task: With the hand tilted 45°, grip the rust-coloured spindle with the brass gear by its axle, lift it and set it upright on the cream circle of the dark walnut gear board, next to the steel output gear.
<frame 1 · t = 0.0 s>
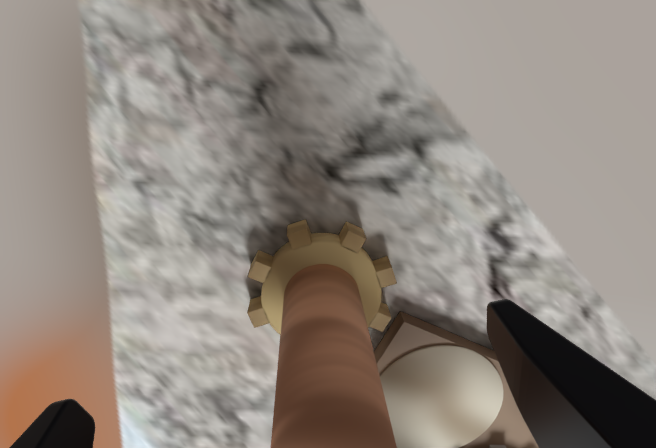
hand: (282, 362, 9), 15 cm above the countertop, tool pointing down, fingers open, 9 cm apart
gear board: (450, 434, 31), on the countertop
gear spindle: (320, 285, 26), on the countertop
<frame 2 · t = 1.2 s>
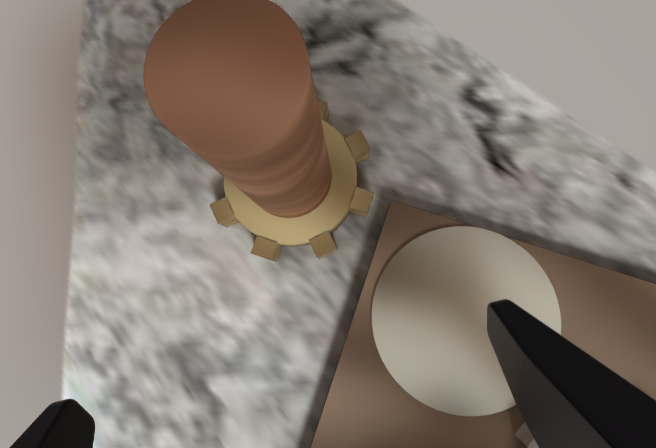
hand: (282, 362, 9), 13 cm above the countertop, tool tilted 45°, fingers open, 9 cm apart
gear board: (511, 398, 21), on the countertop
gear spindle: (293, 183, 23), on the countertop
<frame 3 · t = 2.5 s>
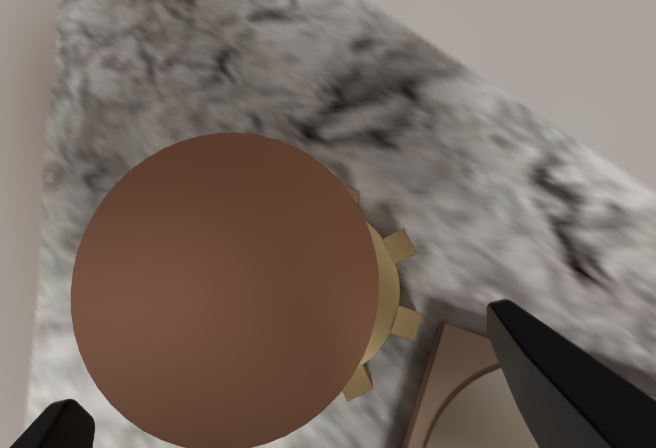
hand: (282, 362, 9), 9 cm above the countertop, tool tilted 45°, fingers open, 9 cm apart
gear spindle: (314, 289, 18), on the countertop
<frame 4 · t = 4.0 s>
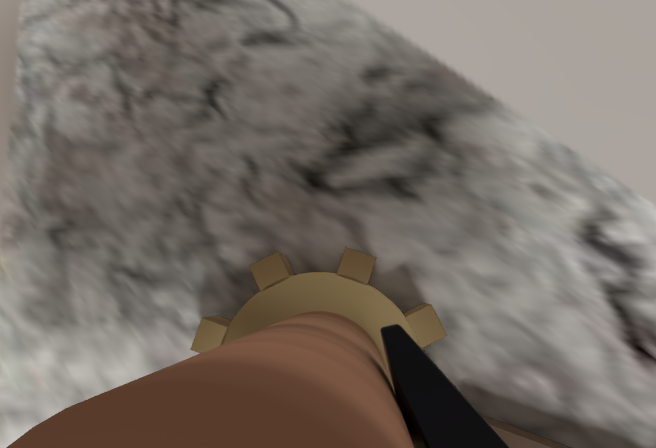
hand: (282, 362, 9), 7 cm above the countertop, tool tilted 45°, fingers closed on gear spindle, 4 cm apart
gear spindle: (322, 371, 15), on the countertop, touching gripper
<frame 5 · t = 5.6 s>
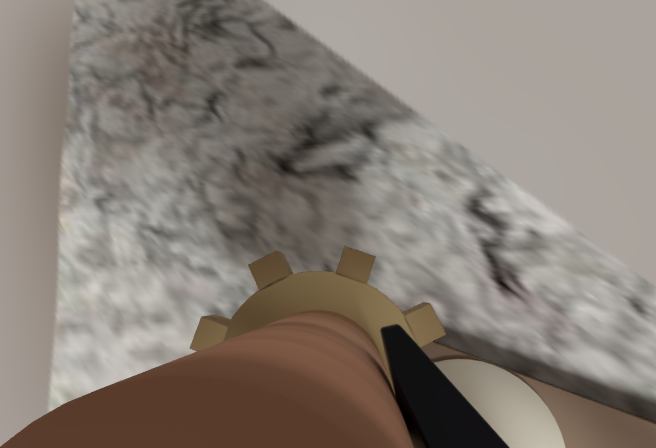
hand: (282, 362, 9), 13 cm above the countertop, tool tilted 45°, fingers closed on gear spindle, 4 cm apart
gear spindle: (321, 370, 15), point 7 cm above the countertop, touching gripper
when the fingers open (9 cm above the countertop, at t = 7.5 s): gear spindle drops 1 cm, resting on gear board.
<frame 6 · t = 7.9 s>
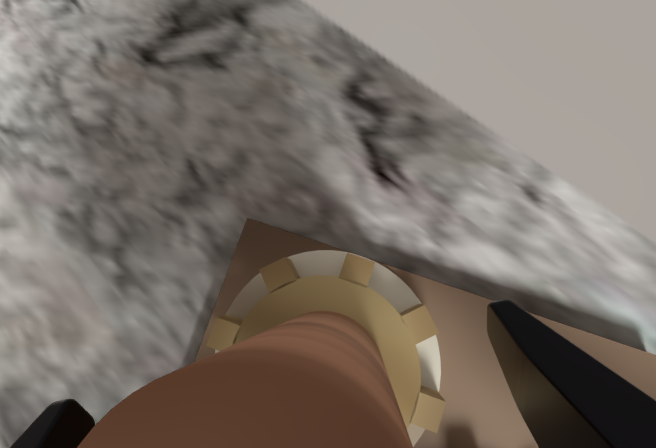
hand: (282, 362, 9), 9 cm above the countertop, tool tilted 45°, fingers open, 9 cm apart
gear spindle: (325, 365, 17), point 1 cm above the countertop, touching gear board
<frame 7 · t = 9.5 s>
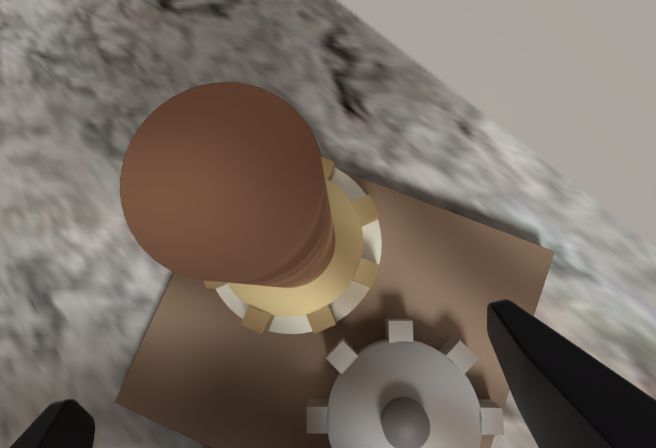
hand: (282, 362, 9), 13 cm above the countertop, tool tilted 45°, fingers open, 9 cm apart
gear board: (336, 324, 22), on the countertop
gear spindle: (292, 244, 21), point 1 cm above the countertop, touching gear board
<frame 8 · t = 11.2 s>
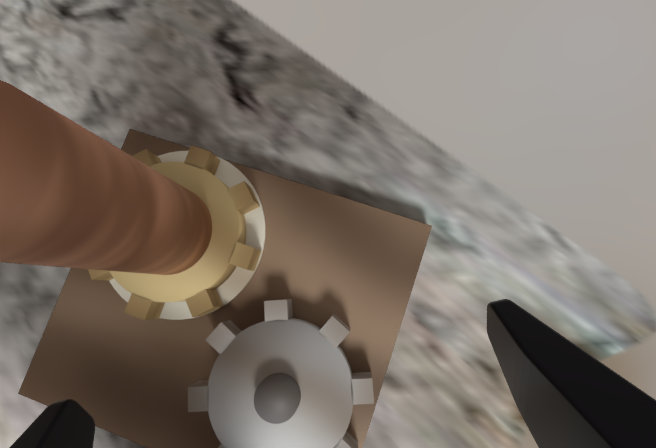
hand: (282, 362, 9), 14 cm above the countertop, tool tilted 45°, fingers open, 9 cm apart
gear board: (231, 309, 23), on the countertop
gear spindle: (181, 234, 22), point 1 cm above the countertop, touching gear board
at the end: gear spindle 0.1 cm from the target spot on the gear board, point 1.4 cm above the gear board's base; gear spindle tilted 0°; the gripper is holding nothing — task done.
